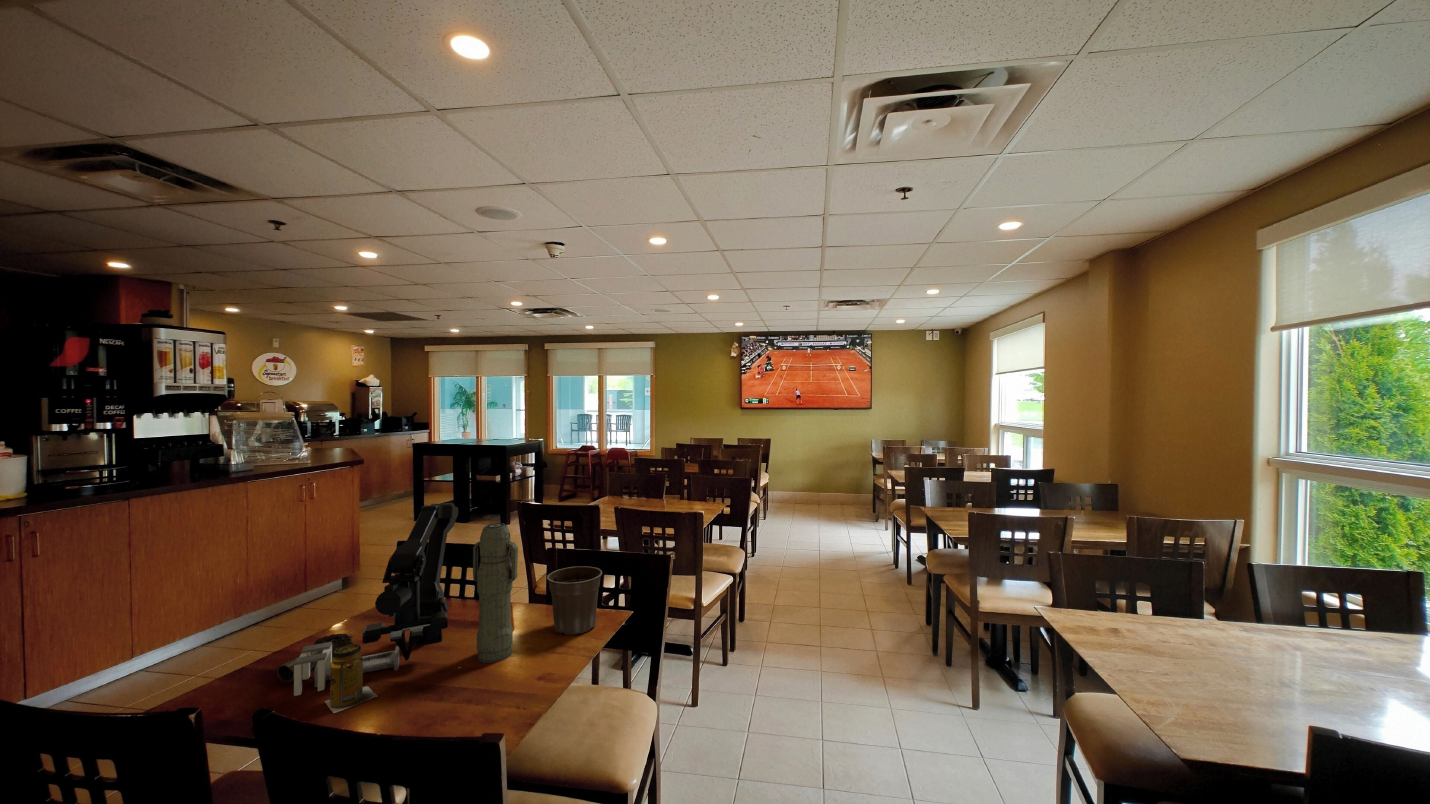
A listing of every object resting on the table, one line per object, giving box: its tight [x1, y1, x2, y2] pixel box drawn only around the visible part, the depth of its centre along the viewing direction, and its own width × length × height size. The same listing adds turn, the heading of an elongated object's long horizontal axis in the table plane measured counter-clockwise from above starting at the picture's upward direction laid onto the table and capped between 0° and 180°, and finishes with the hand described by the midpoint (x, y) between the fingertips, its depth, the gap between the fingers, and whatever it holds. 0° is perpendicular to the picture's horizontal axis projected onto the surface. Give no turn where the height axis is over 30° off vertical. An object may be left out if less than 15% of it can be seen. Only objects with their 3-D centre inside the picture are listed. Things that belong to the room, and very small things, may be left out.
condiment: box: [324, 643, 378, 714], centre depth 118 cm, size 7×8×12 cm
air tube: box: [314, 645, 400, 688], centre depth 129 cm, size 17×4×4 cm, turn 118°
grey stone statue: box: [472, 522, 519, 664], centre depth 139 cm, size 9×12×35 cm
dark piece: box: [276, 633, 354, 683], centre depth 134 cm, size 18×7×6 cm, turn 169°
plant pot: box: [546, 565, 603, 636], centre depth 157 cm, size 16×16×16 cm
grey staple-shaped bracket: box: [293, 642, 333, 697], centre depth 124 cm, size 6×10×8 cm, turn 28°
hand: (407, 659), depth 133 cm, fingers closed
